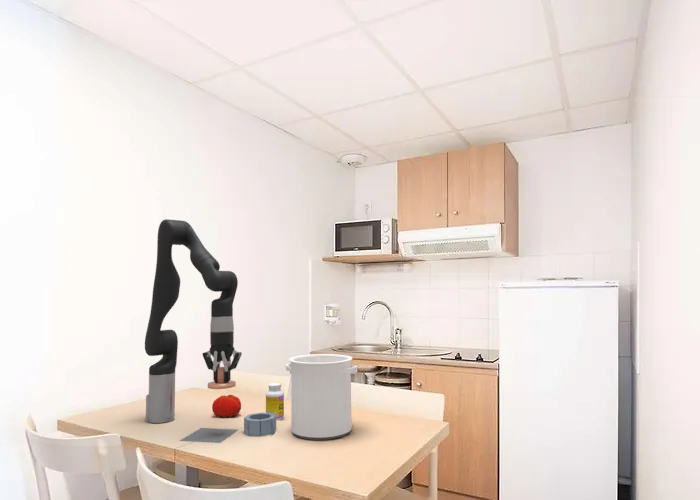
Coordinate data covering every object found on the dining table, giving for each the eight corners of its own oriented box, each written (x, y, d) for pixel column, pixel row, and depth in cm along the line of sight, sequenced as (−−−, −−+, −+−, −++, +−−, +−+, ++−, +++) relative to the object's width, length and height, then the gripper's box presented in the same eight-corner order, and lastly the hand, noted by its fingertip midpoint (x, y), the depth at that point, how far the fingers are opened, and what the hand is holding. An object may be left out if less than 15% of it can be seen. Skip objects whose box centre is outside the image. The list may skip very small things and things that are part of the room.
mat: (179, 442, 153) (179, 440, 153) (201, 429, 166) (201, 427, 166) (220, 444, 150) (220, 442, 150) (239, 431, 164) (239, 429, 164)
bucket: (367, 425, 168) (366, 354, 170) (346, 445, 148) (345, 364, 150) (300, 420, 177) (300, 352, 178) (272, 437, 156) (272, 361, 158)
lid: (202, 388, 156) (202, 369, 157) (215, 383, 165) (215, 365, 165) (228, 389, 154) (228, 369, 155) (240, 384, 163) (240, 365, 164)
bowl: (240, 437, 157) (240, 420, 158) (252, 428, 167) (252, 412, 167) (269, 438, 155) (268, 421, 156) (279, 429, 165) (279, 413, 166)
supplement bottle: (280, 422, 174) (280, 386, 175) (263, 421, 175) (263, 385, 176) (286, 417, 181) (286, 382, 182) (269, 416, 182) (269, 382, 183)
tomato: (230, 421, 177) (230, 400, 177) (206, 418, 181) (206, 398, 181) (247, 413, 187) (247, 394, 187) (223, 411, 191) (223, 392, 191)
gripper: (197, 331, 159) (197, 384, 157) (236, 331, 156) (236, 385, 155) (208, 329, 166) (208, 380, 165) (246, 329, 163) (246, 380, 162)
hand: (222, 382), depth 160 cm, fingers closed on lid, 2 cm apart
